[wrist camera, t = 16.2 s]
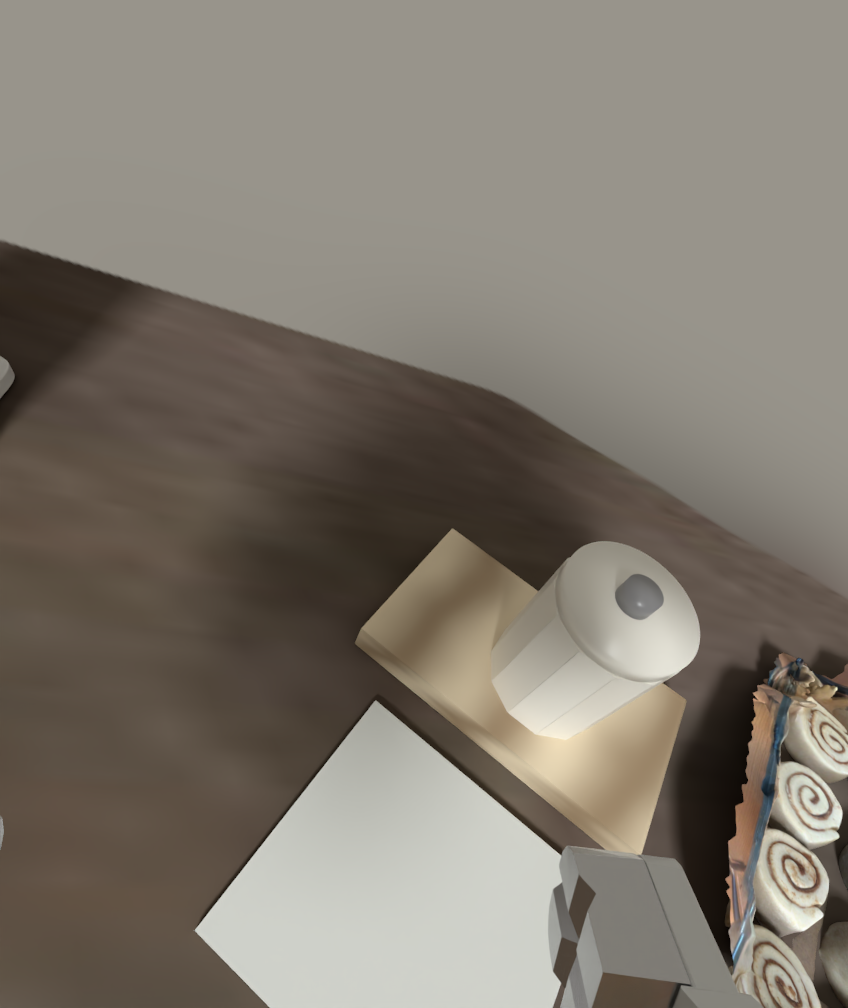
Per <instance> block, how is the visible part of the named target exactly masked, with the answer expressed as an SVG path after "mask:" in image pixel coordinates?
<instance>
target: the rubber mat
mask: <svg viewBox="0 0 848 1008" xmlns="http://www.w3.org/2000/svg"><path fill="white" fill-rule="evenodd" d="M560 859H561V855H560V854H559V853H557V852H556V851H555V850H554V849H553V848H551V847H550V846H549V845H548V844H547V843H545V842H544V841H543V840H542V839H541V838H540V837H538V836H537V835H536V834H535V833H534V832H532V831H531V830H530V829H529V828H528V827H526V826H525V825H524V824H523V823H522V822H520V821H519V820H518V819H517V818H516V817H514V816H513V815H512V814H511V813H510V812H508V811H507V810H506V809H505V808H504V807H503V806H501V805H500V804H499V803H498V802H497V801H495V800H494V799H493V798H492V797H491V796H489V795H488V794H487V793H486V792H485V791H483V790H482V789H481V788H480V787H479V786H477V785H476V784H475V783H474V782H473V781H472V780H470V779H469V778H468V777H467V776H466V775H464V774H463V773H462V772H461V771H460V770H458V769H457V768H456V767H455V766H454V765H452V764H451V763H450V762H449V761H448V760H446V759H445V758H444V757H443V756H442V755H440V754H439V753H438V752H437V751H436V750H435V749H433V748H432V747H431V746H430V745H429V744H427V743H426V742H425V741H424V740H423V739H421V738H420V737H419V736H418V735H417V734H415V733H414V732H413V731H412V730H411V729H409V728H408V727H407V726H406V725H405V724H404V723H402V722H401V721H400V720H399V719H398V718H396V717H395V716H394V715H393V714H392V713H390V712H389V711H388V710H387V709H386V708H384V707H383V706H382V705H381V704H380V703H378V702H377V701H376V700H375V701H374V703H373V704H372V705H371V707H370V708H369V709H368V710H367V712H366V713H365V714H364V715H363V717H362V718H361V719H360V721H359V722H358V723H357V724H356V726H355V727H354V728H353V729H352V731H351V732H350V733H349V735H348V736H347V737H346V738H345V740H344V741H343V742H342V743H341V745H340V746H339V747H338V749H337V750H336V751H335V752H334V754H333V755H332V756H331V757H330V759H329V760H328V761H327V763H326V764H325V765H324V766H323V768H322V769H321V770H320V771H319V773H318V774H317V775H316V777H315V778H314V779H313V780H312V782H311V783H310V784H309V785H308V787H307V788H306V789H305V791H304V792H303V793H302V794H301V796H300V797H299V798H298V799H297V801H296V802H295V803H294V805H293V806H292V807H291V808H290V810H289V811H288V812H287V813H286V815H285V816H284V817H283V819H282V820H281V821H280V822H279V824H278V825H277V826H276V827H275V829H274V830H273V831H272V833H271V834H270V835H269V836H268V838H267V839H266V840H265V841H264V843H263V844H262V845H261V847H260V848H259V849H258V850H257V852H256V853H255V854H254V855H253V857H252V858H251V859H250V861H249V862H248V863H247V864H246V866H245V867H244V868H243V869H242V871H241V872H240V873H239V875H238V876H237V877H236V878H235V880H234V881H233V882H232V883H231V885H230V886H229V887H228V889H227V890H226V891H225V892H224V894H223V895H222V896H221V897H220V899H219V900H218V901H217V903H216V904H215V905H214V906H213V908H212V909H211V910H210V911H209V913H208V914H207V915H206V917H205V918H204V919H203V920H202V922H201V923H200V924H199V925H198V927H197V928H196V929H195V932H196V933H197V934H198V935H199V936H200V937H201V938H202V939H203V940H204V941H205V942H206V943H207V944H208V945H209V946H210V947H211V948H212V949H213V950H214V951H215V952H216V953H217V954H218V955H219V956H220V957H221V958H222V959H223V960H224V961H225V962H226V963H227V964H228V965H229V966H230V967H231V968H232V969H233V970H234V971H235V972H236V973H237V975H238V976H239V977H240V978H241V979H242V980H243V981H244V982H245V983H246V984H247V985H248V986H249V987H250V988H251V989H252V990H253V991H254V992H255V993H256V994H257V995H258V996H259V997H260V998H261V999H262V1000H263V1001H264V1002H265V1003H266V1004H267V1005H268V1006H269V1007H270V1008H553V1005H554V1002H555V999H556V996H557V993H558V990H559V987H560V984H561V982H560V981H559V979H558V978H557V976H556V975H555V974H554V972H553V970H552V963H551V957H550V950H549V938H548V917H549V905H550V900H551V896H552V891H553V889H554V888H555V887H556V886H558V885H559V884H560V883H562V879H561V874H560V869H559V863H560Z"/></svg>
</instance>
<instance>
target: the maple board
mask: <svg viewBox="0 0 848 1008" xmlns="http://www.w3.org/2000/svg"><path fill="white" fill-rule="evenodd" d="M537 593H538V591H537V590H536V589H534V588H533V587H532V586H530V585H529V584H528V583H526V582H525V581H524V580H522V579H521V578H520V577H518V576H517V575H515V574H514V573H513V572H511V571H510V570H509V569H507V568H506V567H505V566H503V565H502V564H500V563H499V562H498V561H496V560H495V559H494V558H492V557H491V556H490V555H488V554H487V553H486V552H484V551H483V550H481V549H480V548H479V547H477V546H476V545H475V544H473V543H472V542H471V541H469V540H468V539H467V538H465V537H464V536H462V535H461V534H460V533H458V532H457V531H456V530H454V529H453V528H452V529H451V530H450V531H449V532H448V534H447V535H446V536H445V537H444V538H443V539H442V540H441V541H440V542H439V543H438V545H437V546H436V547H435V548H434V549H433V550H432V551H431V552H430V553H429V554H428V556H427V557H426V558H425V559H424V560H423V561H422V562H421V563H420V564H419V565H418V567H417V568H416V569H415V570H414V571H413V572H412V573H411V574H410V575H409V576H408V577H407V579H406V580H405V581H404V582H403V583H402V584H401V585H400V586H399V587H398V588H397V590H396V591H395V592H394V593H393V594H392V595H391V596H390V597H389V598H388V599H387V601H386V602H385V603H384V604H383V605H382V606H381V607H380V608H379V609H378V610H377V611H376V613H375V614H374V615H373V616H372V617H371V618H370V619H369V620H368V621H367V622H366V624H365V625H364V626H363V627H362V628H361V630H360V632H359V635H358V637H357V639H356V641H355V644H356V645H357V646H358V647H359V648H361V649H362V650H363V651H364V652H365V653H367V654H368V655H369V656H370V657H372V658H373V659H374V660H375V661H376V662H378V663H379V664H380V665H381V666H382V667H384V668H385V669H386V670H387V671H389V672H390V673H391V674H392V675H393V676H395V677H396V678H397V679H398V680H400V681H401V682H402V683H403V684H404V685H406V686H407V687H408V688H409V689H410V690H412V691H413V692H414V693H415V694H417V695H418V696H419V697H420V698H421V699H423V700H424V701H425V702H426V703H428V704H429V705H430V706H431V707H432V708H434V709H435V710H436V711H437V712H439V713H440V714H441V715H442V716H443V717H445V718H446V719H447V720H448V721H449V722H451V723H452V724H453V725H454V726H456V727H457V728H458V729H459V730H460V731H462V732H463V733H464V734H465V735H467V736H468V737H469V738H470V739H471V740H473V741H474V742H475V743H476V744H478V745H479V746H480V747H481V748H482V749H484V750H485V751H486V752H487V753H488V754H490V755H491V756H492V757H493V758H495V759H496V760H497V761H498V762H499V763H501V764H502V765H503V766H504V767H506V768H507V769H508V770H509V771H510V772H512V773H513V774H514V775H515V776H516V777H518V778H519V779H520V780H521V781H523V782H524V783H525V784H526V785H527V786H529V787H530V788H531V789H532V790H534V791H535V792H536V793H537V794H538V795H540V796H541V797H542V798H543V799H545V800H546V801H547V802H548V803H549V804H551V805H552V806H553V807H554V808H555V809H557V810H558V811H559V812H560V813H562V814H563V815H564V816H565V817H566V818H568V819H569V820H570V821H571V822H573V823H574V824H575V825H576V826H577V827H579V828H580V829H581V830H582V831H584V832H585V833H586V834H587V835H588V836H590V837H591V838H592V839H593V840H594V841H596V842H597V843H598V844H599V845H601V846H602V847H603V848H604V849H605V850H609V851H618V852H626V853H634V854H636V855H641V854H642V851H643V847H644V844H645V840H646V837H647V834H648V830H649V827H650V823H651V820H652V817H653V813H654V810H655V806H656V803H657V800H658V796H659V793H660V790H661V786H662V783H663V779H664V776H665V773H666V769H667V766H668V762H669V759H670V756H671V752H672V749H673V745H674V742H675V739H676V735H677V732H678V729H679V725H680V722H681V718H682V715H683V712H684V708H685V705H686V701H687V700H685V699H684V698H682V697H681V696H680V695H678V694H677V693H676V692H674V691H673V690H672V689H670V688H669V687H668V686H666V685H665V684H663V683H661V684H660V685H658V686H656V687H655V688H653V689H652V690H650V691H648V692H647V693H645V694H643V695H642V696H640V697H639V698H637V699H635V700H634V701H632V702H631V703H629V704H627V705H626V706H624V707H623V708H621V709H619V710H618V711H616V712H615V713H613V714H611V715H610V716H608V717H606V718H605V719H603V720H602V721H600V722H598V723H597V724H595V725H594V726H592V727H590V728H589V729H587V730H585V731H583V732H581V733H579V734H577V735H575V736H573V737H571V738H569V739H567V740H564V739H558V738H552V737H547V736H541V735H535V734H534V733H533V732H531V731H530V730H529V729H528V728H526V727H525V726H524V725H523V724H521V723H520V722H519V721H518V720H516V719H515V718H514V717H512V716H511V715H510V714H509V713H508V712H507V711H506V709H505V707H504V705H503V703H502V701H501V699H500V697H499V695H498V693H497V691H496V689H495V688H494V686H493V684H492V681H491V651H492V649H493V648H494V646H495V644H496V643H497V641H498V640H499V638H500V637H501V635H502V634H503V632H504V630H505V629H506V628H507V627H508V626H509V625H510V624H511V622H512V621H513V620H514V619H515V618H516V617H517V615H518V614H519V613H520V612H521V611H522V610H523V609H524V607H525V606H526V605H527V604H528V603H529V602H530V601H531V599H532V598H533V597H534V596H535V595H536V594H537Z"/></svg>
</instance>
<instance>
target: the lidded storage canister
mask: <svg viewBox="0 0 848 1008" xmlns="http://www.w3.org/2000/svg"><path fill="white" fill-rule="evenodd" d="M699 643H700V628H699V622H698V618H697V615H696V612H695V609H694V607H693V605H692V603H691V601H690V599H689V597H688V595H687V594H686V592H685V591H684V589H683V588H682V586H681V585H680V584H679V582H678V581H677V580H676V579H675V578H674V577H673V576H672V575H671V574H670V573H669V572H668V570H666V569H665V568H664V567H663V566H662V565H661V564H660V563H658V562H657V561H656V560H654V559H653V558H651V557H650V556H648V555H647V554H645V553H643V552H641V551H639V550H637V549H635V548H633V547H630V546H628V545H624V544H621V543H616V542H609V541H599V542H593V543H589V544H587V545H584V546H583V547H581V548H579V549H578V550H577V551H576V552H575V553H574V554H573V555H572V556H571V557H570V558H567V559H566V560H565V562H564V563H563V564H562V565H561V566H560V567H559V569H558V570H557V571H556V572H555V573H554V574H553V575H552V577H551V578H550V579H549V580H548V581H547V582H546V583H545V585H544V586H543V587H542V588H541V589H540V590H539V591H538V593H537V594H536V595H535V596H534V597H533V598H532V599H531V601H530V602H529V603H528V604H527V605H526V606H525V607H524V609H523V610H522V611H521V612H520V613H519V614H518V615H517V617H516V618H515V619H514V620H513V621H512V622H511V624H510V625H509V626H508V627H507V628H506V629H505V630H504V632H503V634H502V635H501V637H500V638H499V640H498V641H497V643H496V644H495V646H494V648H493V649H492V651H491V681H492V684H493V686H494V688H495V689H496V691H497V693H498V695H499V697H500V699H501V701H502V703H503V705H504V707H505V709H506V711H507V712H508V713H509V714H510V715H511V716H512V717H514V718H515V719H516V720H518V721H519V722H520V723H521V724H523V725H524V726H525V727H526V728H528V729H529V730H530V731H531V732H533V733H534V734H535V735H541V736H547V737H552V738H558V739H564V740H567V739H569V738H571V737H573V736H575V735H577V734H579V733H581V732H583V731H585V730H587V729H589V728H590V727H592V726H594V725H595V724H597V723H598V722H600V721H602V720H603V719H605V718H606V717H608V716H610V715H611V714H613V713H615V712H616V711H618V710H619V709H621V708H623V707H624V706H626V705H627V704H629V703H631V702H632V701H634V700H635V699H637V698H639V697H640V696H642V695H643V694H645V693H647V692H648V691H650V690H652V689H653V688H655V687H656V686H658V685H660V684H661V683H663V682H664V681H666V680H668V679H669V678H671V677H672V676H674V675H676V674H677V673H679V672H680V670H681V669H683V668H684V667H686V666H687V665H688V664H689V663H690V662H691V661H692V660H693V658H694V657H695V655H696V653H697V651H698V648H699Z"/></svg>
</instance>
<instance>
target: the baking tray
mask: <svg viewBox="0 0 848 1008" xmlns="http://www.w3.org/2000/svg"><path fill="white" fill-rule="evenodd" d="M774 663H775V665H776V666H777V667H776V668H775V669H774V670H771V671H770V678H769V679H764V680H763V681H764V683H765V684H762V685H757V687H758V691H756V692H754V693H753V694H754V695H755V697H756V698H757V699H758V700H759V701H758V700H756V699H754V698H753V701H754V711H755V713H756V717H755V718H754V720H753V721H752V722H751V723H752V724H753V726H754V730H752V731H751V732H752V740H751V741H750V742H749V743H748V747H749V755H748V756H747V768H746V770H745V772H746V775H747V778H748V782H747V784H742V792H743V798H744V802H743V803H741V804H739V805H737V806H735V809H736V827H737V830H736V836H735V837H733V838H732V839H731V840H729V841H728V847H729V867H730V875H729V876H728V877H727V878H726V879H725V880H726V881H727V883H728V885H729V886H730V888H729V889H728V890H727V891H726V892H727V894H728V896H729V898H730V900H729V903H728V905H727V911H726V915H725V922H724V923H725V926H726V927H730V929H729V931H728V933H729V936H730V940H731V953H732V957H733V962H734V965H733V966H730V967H729V968H728V970H729V972H730V974H731V975H732V978H733V981H734V983H735V985H736V987H737V989H738V992H739V993H743V994H748V995H752V996H753V997H754V998H755V999H756V1000H757V1001H758V1002H759V1003H760V1004H761V1005H762V1006H763V1007H764V1008H828V1007H827V1005H825V1004H824V1003H823V1002H822V1001H820V1000H819V998H818V996H817V993H816V991H815V988H814V985H813V983H812V981H814V972H815V965H814V962H815V958H816V950H817V936H818V931H819V929H820V928H821V926H822V924H823V920H824V913H825V909H826V908H827V907H826V906H827V903H828V902H827V898H828V889H829V877H828V875H827V873H826V871H825V869H824V867H823V866H822V864H821V862H820V861H819V859H818V858H817V856H816V855H815V854H814V853H813V852H811V851H810V850H811V849H814V848H818V847H821V846H824V845H827V844H829V843H831V842H833V841H835V840H837V839H838V838H839V834H838V833H837V830H838V829H839V826H840V823H841V820H842V808H841V806H840V804H839V802H838V801H837V799H836V798H835V796H834V794H833V792H832V791H831V789H830V788H829V787H828V785H827V784H826V783H834V782H837V781H840V780H842V779H844V778H846V777H847V779H848V664H847V665H845V671H844V672H843V673H841V674H839V675H838V676H836V677H835V678H833V679H830V678H828V677H826V676H824V675H817V674H816V673H815V672H814V671H809V668H808V666H807V664H803V663H804V661H803V659H801V658H797V659H796V658H794V657H792V656H790V655H787V654H785V653H782V654H779V658H776V661H774ZM782 743H784V745H785V747H786V749H787V751H788V753H789V754H790V756H791V757H792V759H793V760H794V761H795V762H791V761H786V762H781V761H780V755H781V751H780V750H781V744H782ZM838 862H839V868H840V872H841V875H842V878H843V881H844V883H845V886H846V888H847V890H848V844H847V845H846V846H845V847H844V849H843V850H842V852H841V854H840V857H839V860H838ZM754 916H755V918H756V919H757V921H758V922H759V923H760V925H761V926H759V925H753V923H752V922H753V919H754ZM795 932H801V933H800V935H798V936H795V937H794V938H793V940H792V943H793V948H792V949H790V948H789V947H788V946H787V945H786V944H785V943H784V942H783V941H782V940H781V939H780V938H781V937H783V936H785V935H788V934H792V933H795ZM819 955H820V958H821V961H822V965H823V968H824V971H825V974H826V977H827V979H828V981H829V983H830V985H831V987H832V989H833V991H834V993H835V995H836V996H837V998H838V999H839V1001H840V1002H841V1003H842V1005H843V1006H844V1007H845V1008H848V921H846V922H836V923H834V924H832V925H830V926H829V927H828V930H827V932H826V934H825V935H824V936H823V938H822V942H821V945H820V948H819Z"/></svg>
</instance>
